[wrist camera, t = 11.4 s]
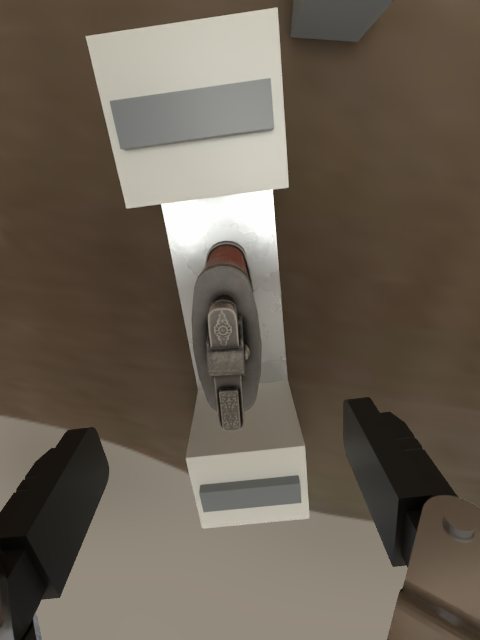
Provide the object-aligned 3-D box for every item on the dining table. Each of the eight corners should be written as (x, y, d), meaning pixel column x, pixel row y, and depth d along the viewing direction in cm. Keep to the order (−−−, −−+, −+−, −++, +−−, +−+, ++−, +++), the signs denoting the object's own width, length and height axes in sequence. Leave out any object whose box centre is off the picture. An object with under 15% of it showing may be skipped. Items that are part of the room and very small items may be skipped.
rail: (213, 442, 31) (211, 458, 29) (143, 77, 20) (133, 66, 18) (289, 434, 30) (293, 450, 28) (259, 60, 20) (261, 47, 18)
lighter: (199, 242, 22) (172, 284, 13) (251, 238, 22) (262, 278, 13) (211, 352, 25) (196, 451, 16) (256, 349, 25) (269, 447, 16)
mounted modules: (209, 449, 28) (201, 537, 21) (138, 87, 19) (78, 29, 12) (292, 441, 28) (311, 527, 21) (263, 69, 18) (279, -1, 11)
